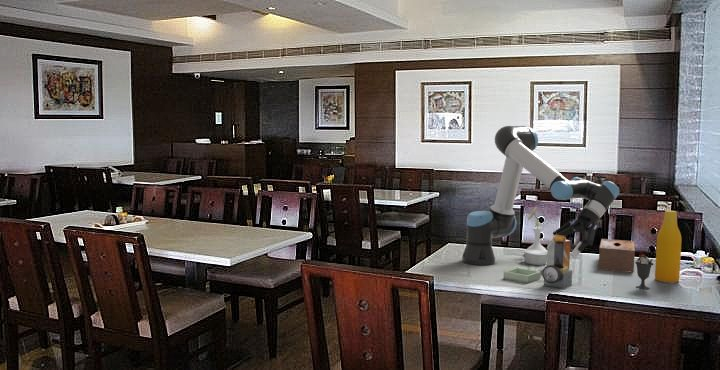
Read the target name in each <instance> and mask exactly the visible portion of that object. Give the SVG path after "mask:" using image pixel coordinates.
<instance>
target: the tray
mask: <svg viewBox="0 0 720 370" xmlns="http://www.w3.org/2000/svg"><path fill="white" fill-rule="evenodd" d="M541 278H542V271H539V270H532V269H526V268H521V267H514V268H512V269H507V270H505V271H503V279H504V280H507V279H508V281H514V282H519V283H524V284H530V283H533V282H535V281H539V280H541Z"/></svg>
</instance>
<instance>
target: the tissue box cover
mask: <svg viewBox="0 0 720 370" xmlns="http://www.w3.org/2000/svg"><path fill="white" fill-rule="evenodd" d="M635 248H636V247H635V241H634V240H625V239H624V240H622V239H621V240H620V239H609V238H608V239H607V238H601V240H600V244H599V251H598V252H599V255H598V270H602V271H603V270H604V271H613V270H614V271H615V272H623V271H631V272H630V273H633V272H635V257H636V256H635V253H636V252H635V251H636V249H635Z"/></svg>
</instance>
